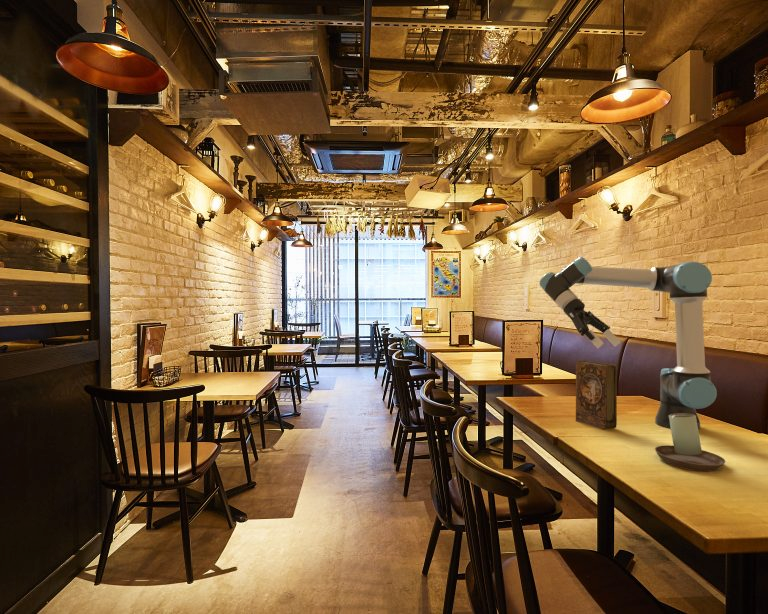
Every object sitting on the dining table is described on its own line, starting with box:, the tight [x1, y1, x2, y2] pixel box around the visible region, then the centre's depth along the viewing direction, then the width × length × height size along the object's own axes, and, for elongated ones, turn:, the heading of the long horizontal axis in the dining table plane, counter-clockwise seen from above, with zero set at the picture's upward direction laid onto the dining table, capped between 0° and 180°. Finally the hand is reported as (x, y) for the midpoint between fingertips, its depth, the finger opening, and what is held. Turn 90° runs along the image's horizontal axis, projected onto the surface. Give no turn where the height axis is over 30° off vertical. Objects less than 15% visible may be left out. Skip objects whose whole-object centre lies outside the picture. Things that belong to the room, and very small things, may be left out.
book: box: [575, 360, 618, 430], centre depth 178 cm, size 16×6×25 cm, turn 22°
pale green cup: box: [669, 413, 703, 455], centre depth 135 cm, size 7×7×11 cm
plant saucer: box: [654, 444, 726, 472], centre depth 134 cm, size 18×18×3 cm
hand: (609, 345), depth 160 cm, fingers open, 13 cm apart
